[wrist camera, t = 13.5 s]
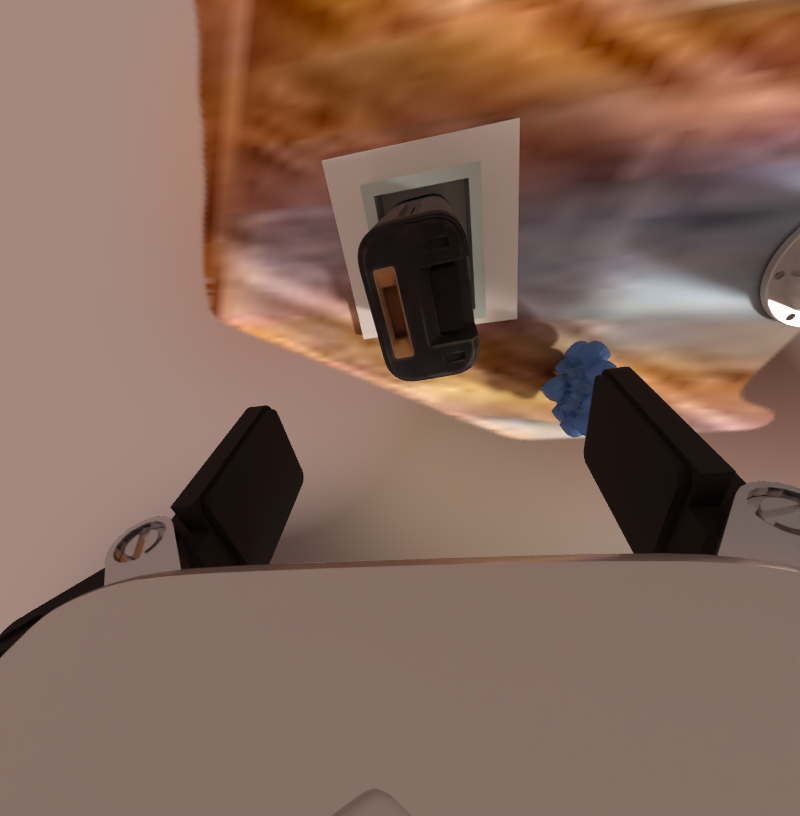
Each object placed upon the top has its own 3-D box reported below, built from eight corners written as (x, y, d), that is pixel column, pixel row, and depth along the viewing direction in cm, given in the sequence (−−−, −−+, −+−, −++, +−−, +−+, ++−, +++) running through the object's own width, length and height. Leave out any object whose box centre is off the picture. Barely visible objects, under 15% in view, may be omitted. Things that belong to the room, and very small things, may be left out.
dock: (517, 119, 31) (534, 109, 26) (515, 315, 41) (527, 335, 36) (323, 160, 34) (305, 158, 29) (364, 335, 44) (356, 357, 39)
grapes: (538, 318, 41) (572, 365, 31) (598, 319, 40) (653, 367, 31) (520, 403, 47) (544, 464, 37) (572, 404, 47) (610, 467, 37)
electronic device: (460, 286, 39) (483, 373, 22) (407, 297, 40) (390, 388, 23) (447, 188, 34) (464, 205, 17) (386, 204, 35) (347, 234, 18)
